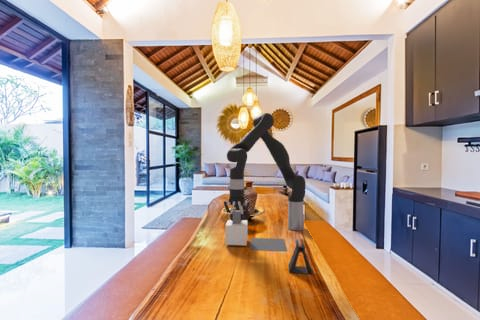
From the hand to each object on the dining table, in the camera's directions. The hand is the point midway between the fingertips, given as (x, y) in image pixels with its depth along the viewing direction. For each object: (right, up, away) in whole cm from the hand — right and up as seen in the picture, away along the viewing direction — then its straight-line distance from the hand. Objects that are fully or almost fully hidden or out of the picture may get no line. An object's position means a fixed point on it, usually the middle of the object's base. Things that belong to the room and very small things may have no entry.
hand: (236, 220), depth 139 cm
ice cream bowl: (+3, -11, +30) cm, 32 cm away
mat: (+16, -12, -1) cm, 20 cm away
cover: (0, -11, 0) cm, 11 cm away
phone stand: (+26, -14, -29) cm, 42 cm away
